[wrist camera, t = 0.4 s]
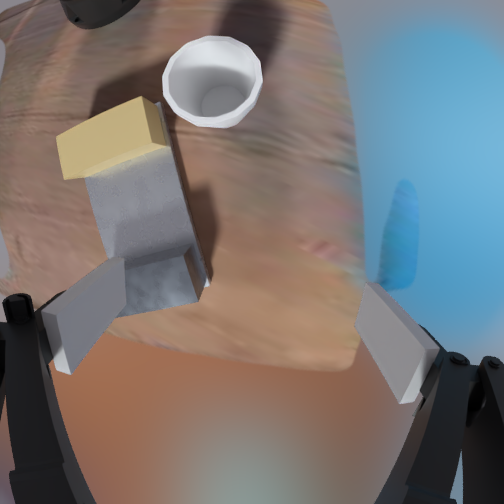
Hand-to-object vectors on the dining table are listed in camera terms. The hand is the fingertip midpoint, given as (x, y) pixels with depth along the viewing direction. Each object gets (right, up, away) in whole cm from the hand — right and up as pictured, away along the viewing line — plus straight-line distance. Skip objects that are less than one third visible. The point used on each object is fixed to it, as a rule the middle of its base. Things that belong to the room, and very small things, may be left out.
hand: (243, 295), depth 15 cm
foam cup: (-3, +22, +21) cm, 30 cm away
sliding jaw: (-18, +17, +20) cm, 32 cm away
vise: (-15, +9, +24) cm, 30 cm away
